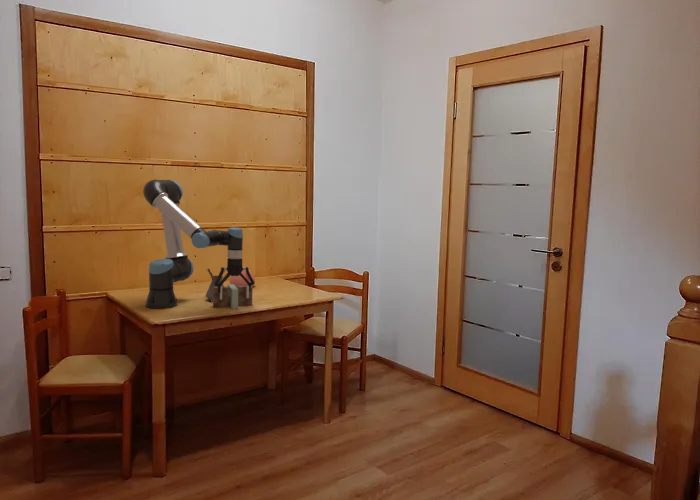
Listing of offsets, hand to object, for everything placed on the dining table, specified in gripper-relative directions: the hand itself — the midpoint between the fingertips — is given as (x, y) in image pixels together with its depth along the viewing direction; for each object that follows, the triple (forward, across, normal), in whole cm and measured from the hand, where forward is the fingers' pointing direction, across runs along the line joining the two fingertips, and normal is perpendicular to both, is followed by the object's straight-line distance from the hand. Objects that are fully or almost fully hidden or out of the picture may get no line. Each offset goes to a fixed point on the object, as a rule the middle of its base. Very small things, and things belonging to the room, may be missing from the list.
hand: (234, 298), depth 273 cm
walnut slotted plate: (+5, 0, +5) cm, 7 cm away
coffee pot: (+5, -7, +25) cm, 26 cm away
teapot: (+5, +14, +54) cm, 56 cm away
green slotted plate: (+5, 0, +5) cm, 7 cm away
